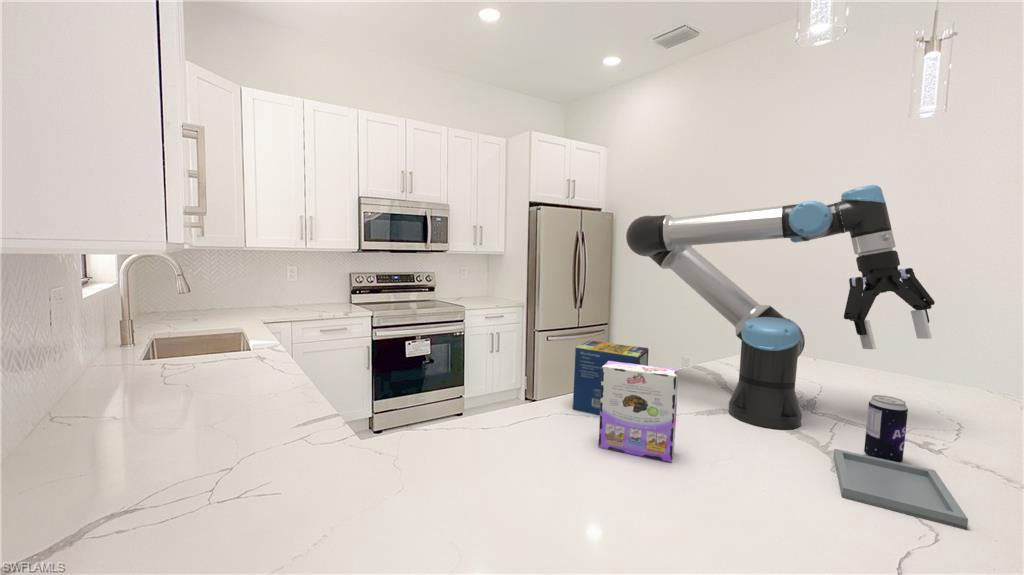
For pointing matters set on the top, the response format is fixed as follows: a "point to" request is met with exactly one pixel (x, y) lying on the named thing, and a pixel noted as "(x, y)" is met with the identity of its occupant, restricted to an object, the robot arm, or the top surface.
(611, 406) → the candy box
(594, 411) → the protein box
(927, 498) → the tray
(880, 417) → the beverage can
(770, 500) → the top surface
